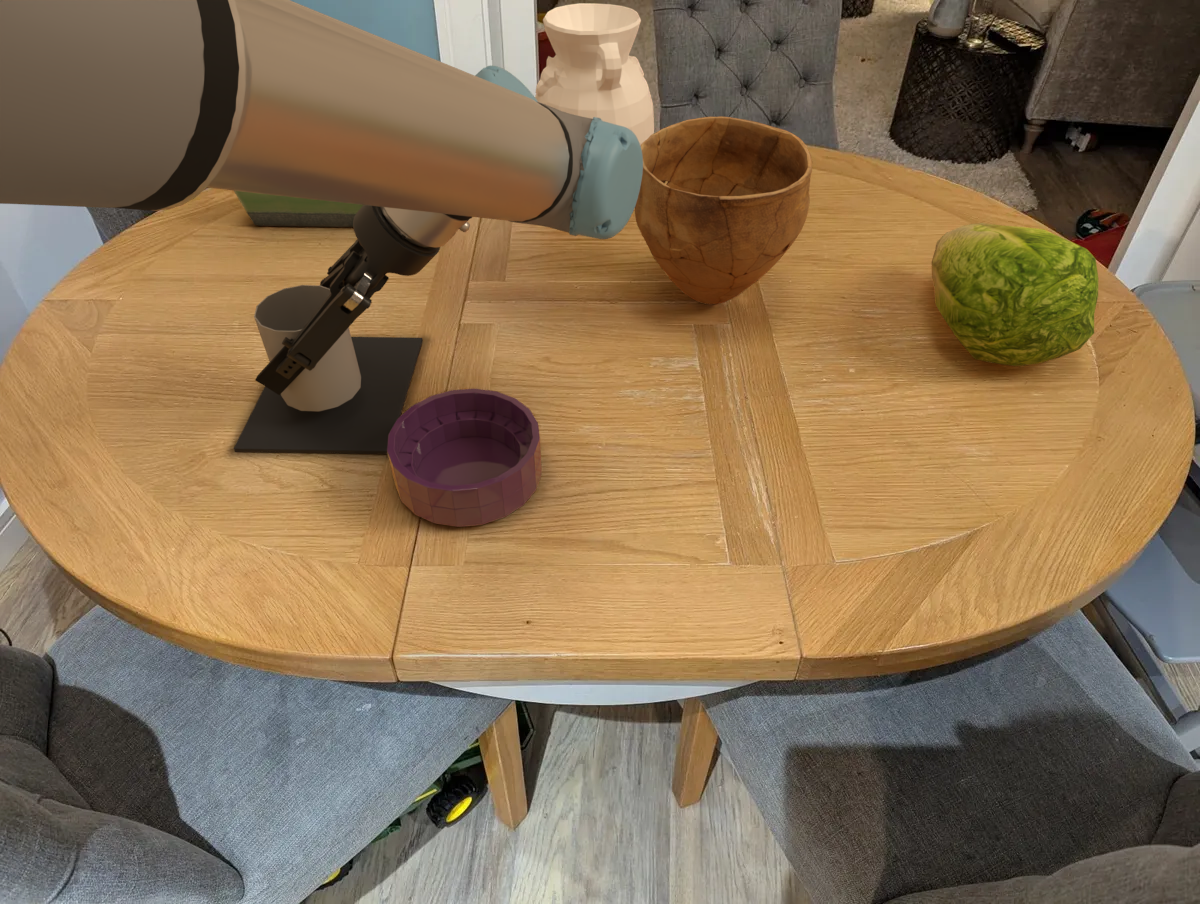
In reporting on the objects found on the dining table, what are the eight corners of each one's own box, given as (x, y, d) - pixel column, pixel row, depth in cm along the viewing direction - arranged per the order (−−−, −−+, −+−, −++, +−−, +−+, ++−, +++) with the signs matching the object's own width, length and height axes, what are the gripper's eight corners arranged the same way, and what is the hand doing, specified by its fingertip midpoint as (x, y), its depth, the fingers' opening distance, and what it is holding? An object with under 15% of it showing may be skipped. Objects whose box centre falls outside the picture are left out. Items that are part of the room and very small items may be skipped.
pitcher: (522, 170, 133) (512, 2, 115) (628, 157, 137) (634, -8, 119) (552, 223, 120) (545, 42, 102) (668, 206, 124) (680, 29, 107)
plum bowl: (453, 555, 74) (445, 514, 70) (369, 473, 81) (358, 433, 77) (570, 479, 81) (569, 438, 77) (483, 410, 88) (478, 370, 85)
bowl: (804, 346, 98) (839, 189, 84) (637, 350, 97) (645, 192, 83) (769, 258, 113) (794, 113, 99) (625, 261, 112) (629, 115, 98)
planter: (439, 209, 123) (433, 163, 118) (431, 232, 117) (424, 185, 112) (258, 207, 123) (244, 161, 118) (242, 230, 117) (227, 182, 113)
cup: (373, 392, 86) (354, 313, 79) (299, 421, 83) (272, 341, 76) (342, 353, 91) (321, 276, 84) (270, 380, 88) (243, 301, 81)
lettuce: (1007, 279, 111) (1023, 175, 102) (1116, 369, 91) (1148, 251, 82) (884, 303, 111) (890, 202, 102) (968, 398, 91) (984, 283, 83)
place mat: (389, 454, 83) (388, 450, 83) (234, 452, 83) (233, 448, 83) (422, 341, 98) (422, 337, 98) (291, 339, 98) (290, 335, 98)
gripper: (424, 308, 67) (283, 446, 79) (459, 193, 83) (337, 322, 94) (347, 250, 64) (211, 403, 75) (399, 141, 79) (280, 282, 90)
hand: (281, 358), depth 84 cm, fingers closed on cup, 8 cm apart
